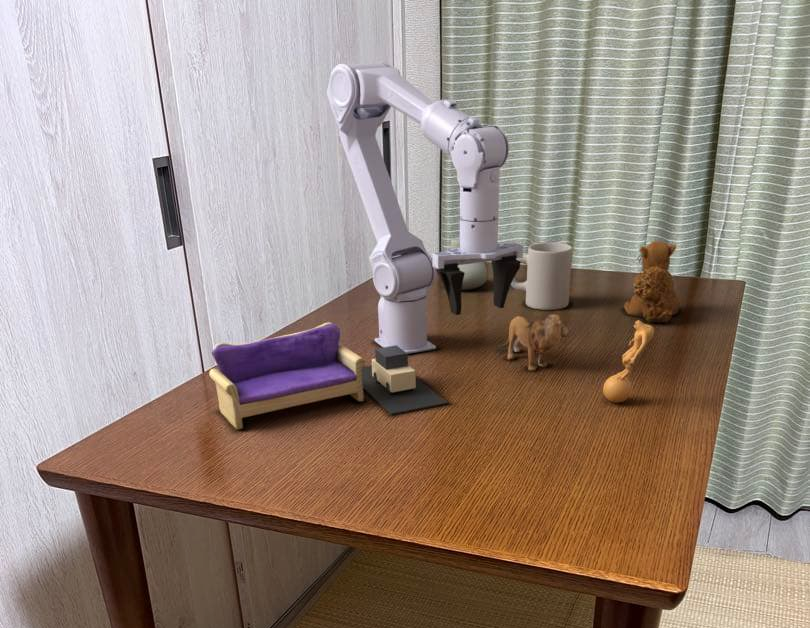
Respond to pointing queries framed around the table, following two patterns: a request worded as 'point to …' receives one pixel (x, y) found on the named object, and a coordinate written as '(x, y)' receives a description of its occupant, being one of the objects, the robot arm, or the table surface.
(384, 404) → the mat
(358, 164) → the robot arm
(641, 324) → the figurine
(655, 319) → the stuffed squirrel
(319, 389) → the toy sofa
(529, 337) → the lion figurine
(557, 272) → the mug
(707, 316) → the table surface
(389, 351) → the toy car
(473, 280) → the air freshener
